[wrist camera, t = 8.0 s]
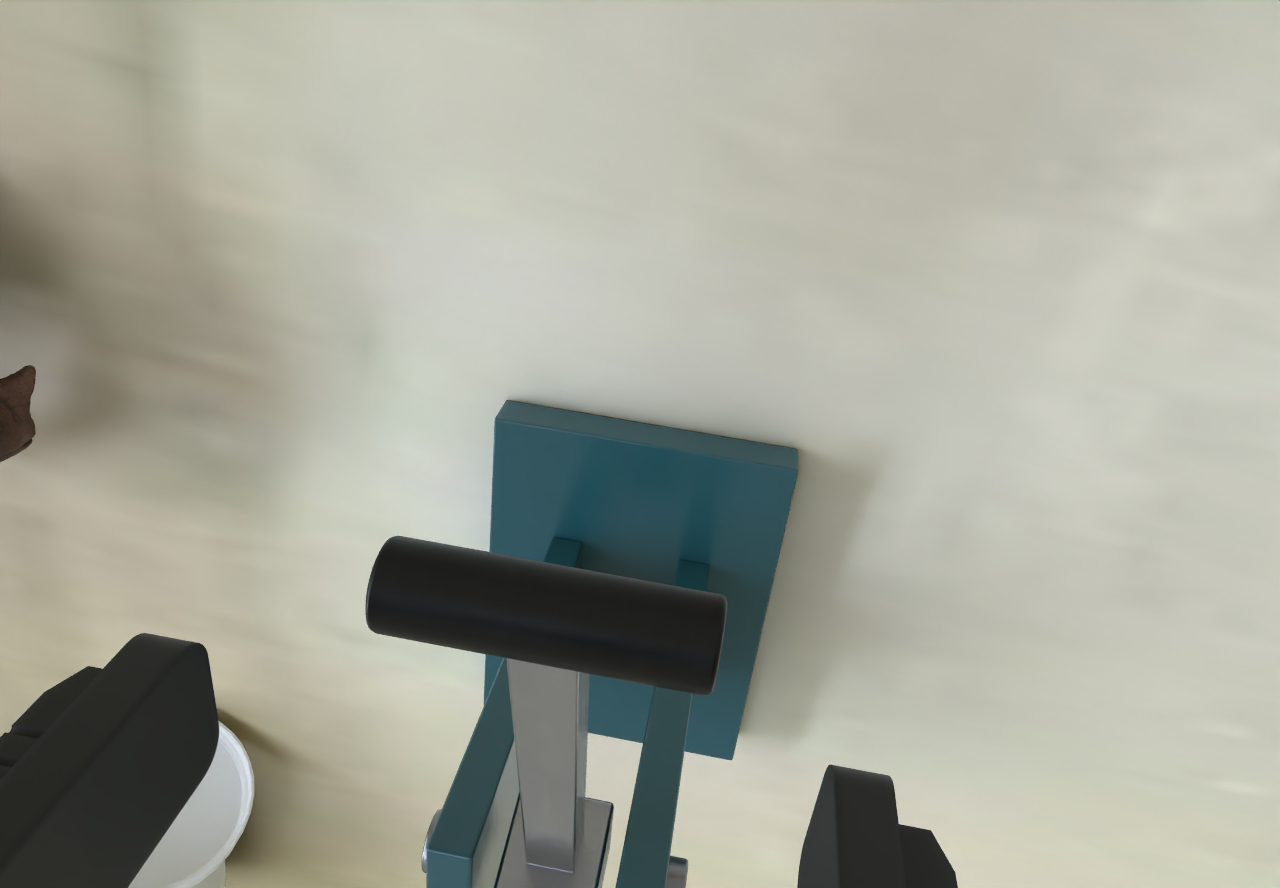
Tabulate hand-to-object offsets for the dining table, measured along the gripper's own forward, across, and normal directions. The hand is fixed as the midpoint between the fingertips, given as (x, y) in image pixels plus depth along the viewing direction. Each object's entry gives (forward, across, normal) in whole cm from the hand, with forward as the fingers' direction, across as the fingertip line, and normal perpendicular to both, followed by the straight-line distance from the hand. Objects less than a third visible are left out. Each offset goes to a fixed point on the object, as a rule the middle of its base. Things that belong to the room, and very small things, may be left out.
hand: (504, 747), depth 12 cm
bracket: (+17, 0, +10) cm, 19 cm away
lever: (+5, 0, +5) cm, 7 cm away
